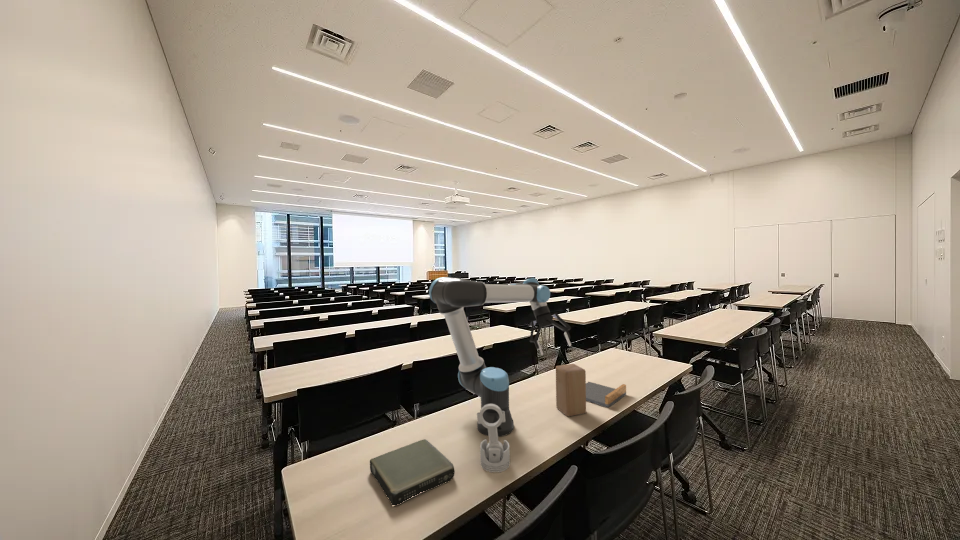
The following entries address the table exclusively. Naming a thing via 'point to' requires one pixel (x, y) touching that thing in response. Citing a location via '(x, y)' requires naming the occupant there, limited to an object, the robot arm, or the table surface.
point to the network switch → (411, 470)
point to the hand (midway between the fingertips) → (556, 350)
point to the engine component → (493, 443)
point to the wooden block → (571, 389)
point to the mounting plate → (604, 394)
